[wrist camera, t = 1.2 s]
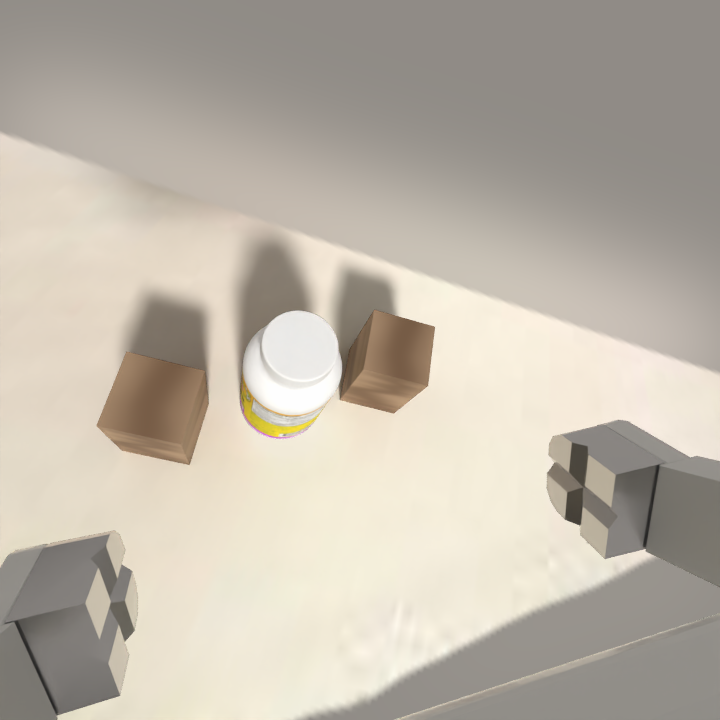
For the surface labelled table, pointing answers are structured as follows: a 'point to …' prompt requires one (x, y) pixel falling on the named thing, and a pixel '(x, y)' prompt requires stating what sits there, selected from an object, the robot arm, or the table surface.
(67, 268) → the table surface
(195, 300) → the table surface
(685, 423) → the table surface
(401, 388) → the walnut block seven
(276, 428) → the supplement bottle
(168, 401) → the walnut block one
